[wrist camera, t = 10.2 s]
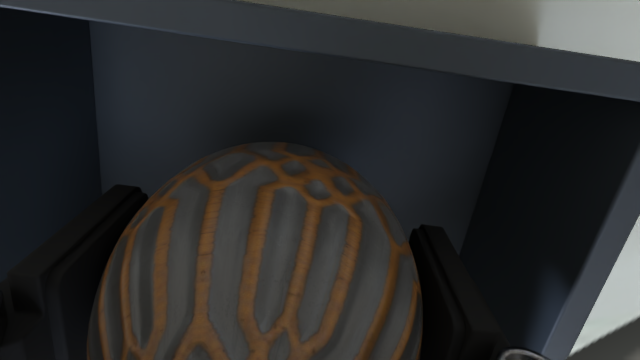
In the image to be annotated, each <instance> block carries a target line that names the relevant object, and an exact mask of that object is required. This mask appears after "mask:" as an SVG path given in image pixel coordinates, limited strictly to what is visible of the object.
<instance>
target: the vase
mask: <svg viewBox="0 0 640 360" xmlns="http://www.w3.org/2000/svg"><path fill="white" fill-rule="evenodd" d="M422 337H423V301H422V292H421V284H420V279H419V274H418V270H417V267H416V263H415V260H414V256H413V253H412V250H411V248H410V245H409V243H408V240H407V238H406V236H405V233H404V231H403V229H402V227H401V225H400V223H399V221H398V219H397V218H396V216H395V214H394V212H393V211H392V209H391V208H390V206H389V204H388V203H387V202H386V200H385V199H384V198H383V196H382V195H381V194H380V193H379V192H378V191H377V190H376V188H375V187H374V186H372V185H371V184H370V183H369V182H368V181H367V180H366V179H365V178H364V177H363V176H362V175H361V174H360V173H358V172H357V171H356V170H355V169H353V168H352V167H350V166H349V165H347V164H346V163H344V162H342V161H341V160H339V159H337V158H335V157H333V156H331V155H329V154H327V153H324V152H322V151H319V150H317V149H313V148H310V147H307V146H303V145H298V144H293V143H285V142H256V143H248V144H242V145H238V146H233V147H230V148H227V149H224V150H221V151H218V152H215V153H213V154H211V155H208V156H206V157H204V158H202V159H200V160H198V161H196V162H194V163H192V164H191V165H189V166H188V167H186V168H185V169H183V170H182V171H181V172H179V173H178V174H177V175H175V176H174V177H173V178H171V179H170V180H169V181H167V182H166V183H165V184H164V185H163V186H162V187H161V188H160V189H159V190H158V191H156V192H155V193H154V194H153V195H152V196H151V197H150V198H149V199H148V200H147V201H146V203H145V204H144V205H143V206H142V207H141V208H140V209H139V211H138V212H137V213H136V214H135V215H134V217H133V218H132V219H131V221H130V222H129V223H128V225H127V226H126V228H125V229H124V231H123V233H122V234H121V236H120V238H119V240H118V241H117V243H116V245H115V246H114V248H113V251H112V253H111V255H110V257H109V259H108V262H107V264H106V266H105V269H104V271H103V274H102V277H101V280H100V283H99V286H98V289H97V292H96V295H95V299H94V303H93V307H92V312H91V316H90V321H89V329H88V338H87V360H420V356H421V348H422Z"/></svg>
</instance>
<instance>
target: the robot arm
mask: <svg viewBox="0 0 640 360" xmlns="http://www.w3.org/2000/svg"><path fill="white" fill-rule="evenodd" d="M147 200H148V195H147V194H146V193H142V190H141V188H140V187H137V186H129V185H121V184H116V185H114V186H113V187H112V188H110V189H109V190H108V191H107V192H106V193H104V194H103V195H102V196H101V197H99V198H98V199H97V200H96V201H94V202H93V203H92V204H91V205H89V206H88V207H87V208H86V209H85V210H83V211H82V212H81V213H80V214H78V215H77V216H76V217H75V218H73V219H72V220H71V221H70V222H69V223H67V224H66V225H65V226H64V227H62V228H61V229H60V230H59V231H57V232H56V233H55V234H54V235H52V236H51V237H50V238H49V239H48V240H46V241H45V242H44V243H43V244H41V245H40V246H39V247H38V248H36V249H35V250H34V251H33V252H32V253H30V254H29V255H28V256H27V257H25V258H24V259H23V260H22V261H20V262H19V263H18V264H17V265H16V266H14V267H13V268H12V269H11V270H9V271H8V272H7V276H8V277H7V278H6V279H5V280H3V281H2V282H1V283H0V360H87V338H88V329H89V321H90V316H91V312H92V307H93V303H94V299H95V295H96V292H97V289H98V286H99V283H100V280H101V277H102V274H103V271H104V269H105V266H106V264H107V262H108V259H109V257H110V255H111V253H112V251H113V248H114V246H115V245H116V243H117V241H118V240H119V238H120V236H121V234H122V233H123V231H124V229H125V228H126V226H127V225H128V223H129V222H130V221H131V219H132V218H133V217H134V215H135V214H136V213H137V212H138V211H139V209H140V208H141V207H142V206H143V205H144V204H145V203H146V201H147ZM409 245H410V248H411V250H412V253H413V256H414V260H415V263H416V267H417V270H418V274H419V279H420V284H421V292H422V301H423V337H422V348H421V356H420V360H550V359H549V358H548V357H546V356H544V355H542V354H540V353H538V352H536V351H533V350H530V349H527V348H524V347H517V346H510V344H509V342H508V340H507V339H506V337H505V335H504V333H503V331H502V330H501V328H500V326H499V324H498V322H497V321H496V319H495V317H494V315H493V313H492V312H491V310H490V308H489V306H488V304H487V303H486V301H485V299H484V297H483V295H482V294H481V292H480V290H479V288H478V286H477V285H476V283H475V281H474V280H473V279H472V278H471V277H470V276H469V274H468V272H467V270H466V268H465V266H464V265H463V263H462V261H461V259H460V257H459V256H458V254H457V252H456V250H455V248H454V246H453V245H452V243H451V241H450V239H449V237H448V235H447V234H446V232H445V230H444V228H443V227H440V226H432V225H425V224H421V225H420V227H419V229H415V228H414V229H413V230H412V232H411V235H410V239H409Z"/></svg>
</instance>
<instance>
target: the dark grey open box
mask: <svg viewBox="0 0 640 360" xmlns="http://www.w3.org/2000/svg"><path fill="white" fill-rule="evenodd" d="M256 142H285V143H293V144H298V145H303V146H307V147H310V148H313V149H317V150H319V151H322V152H324V153H327V154H329V155H331V156H333V157H335V158H337V159H339V160H341V161H342V162H344V163H346V164H347V165H349V166H350V167H352V168H353V169H355V170H356V171H357V172H358V173H360V174H361V175H362V176H363V177H364V178H365V179H366V180H367V181H368V182H369V183H370V184H371V185H372V186H374V187H375V188H376V190H377V191H378V192H379V193H380V194H381V195H382V196H383V198H384V199H385V200H386V202H387V203H388V204H389V206H390V208H391V209H392V211H393V212H394V214H395V216H396V218H397V219H398V221H399V223H400V225H401V227H402V229H403V231H404V233H405V236H406V238H407V240H408V243H409V239H410V235H411V232H412V230H413V229H414V228H415V229H419V227H420V225H421V224H425V225H432V226H440V227H443V228H444V230H445V232H446V234H447V235H448V237H449V239H450V241H451V243H452V245H453V246H454V248H455V250H456V252H457V254H458V256H459V257H460V259H461V261H462V263H463V265H464V266H465V268H466V270H467V272H468V274H469V276H470V277H471V278H472V279H473V280H474V281H475V283H476V285H477V286H478V288H479V290H480V292H481V294H482V295H483V297H484V299H485V301H486V303H487V304H488V306H489V308H490V310H491V312H492V313H493V315H494V317H495V319H496V321H497V322H498V324H499V326H500V328H501V330H502V331H503V333H504V335H505V337H506V339H507V340H508V342H509V344H510V346H517V347H524V348H527V349H530V350H533V351H536V352H538V353H540V354H542V355H544V356H546V357H548V358H549V359H550V360H567V358H568V356H569V354H570V352H571V350H572V348H573V346H574V344H575V342H576V340H577V338H578V336H579V334H580V332H581V330H582V328H583V326H584V324H585V322H586V320H587V318H588V316H589V314H590V312H591V310H592V308H593V306H594V304H595V302H596V300H597V298H598V296H599V294H600V292H601V290H602V288H603V286H604V284H605V282H606V280H607V278H608V276H609V274H610V272H611V270H612V268H613V266H614V264H615V262H616V260H617V258H618V256H619V254H620V252H621V250H622V248H623V246H624V244H625V242H626V240H627V238H628V236H629V234H630V232H631V230H632V229H633V227H634V225H635V223H636V221H637V219H638V217H639V215H640V62H636V61H630V60H623V59H617V58H610V57H604V56H597V55H591V54H584V53H578V52H571V51H565V50H558V49H552V48H545V47H539V46H532V45H526V44H519V43H513V42H506V41H499V40H493V39H486V38H480V37H473V36H467V35H460V34H453V33H447V32H440V31H434V30H427V29H421V28H414V27H408V26H401V25H394V24H388V23H381V22H375V21H368V20H362V19H355V18H349V17H342V16H335V15H329V14H322V13H316V12H309V11H303V10H296V9H290V8H283V7H276V6H270V5H263V4H257V3H250V2H244V1H237V0H0V283H1V282H2V281H3V280H5V279H6V278H7V277H8V276H7V272H8V271H9V270H11V269H12V268H13V267H14V266H16V265H17V264H18V263H19V262H20V261H22V260H23V259H24V258H25V257H27V256H28V255H29V254H30V253H32V252H33V251H34V250H35V249H36V248H38V247H39V246H40V245H41V244H43V243H44V242H45V241H46V240H48V239H49V238H50V237H51V236H52V235H54V234H55V233H56V232H57V231H59V230H60V229H61V228H62V227H64V226H65V225H66V224H67V223H69V222H70V221H71V220H72V219H73V218H75V217H76V216H77V215H78V214H80V213H81V212H82V211H83V210H85V209H86V208H87V207H88V206H89V205H91V204H92V203H93V202H94V201H96V200H97V199H98V198H99V197H101V196H102V195H103V194H104V193H106V192H107V191H108V190H109V189H110V188H112V187H113V186H114V185H116V184H121V185H129V186H137V187H140V188H141V190H142V193H146V194H147V195H148V199H149V198H150V197H151V196H152V195H153V194H154V193H155V192H156V191H158V190H159V189H160V188H161V187H162V186H163V185H164V184H165V183H166V182H167V181H169V180H170V179H171V178H173V177H174V176H175V175H177V174H178V173H179V172H181V171H182V170H183V169H185V168H186V167H188V166H189V165H191V164H192V163H194V162H196V161H198V160H200V159H202V158H204V157H206V156H208V155H211V154H213V153H215V152H218V151H221V150H224V149H227V148H230V147H233V146H238V145H242V144H248V143H256Z"/></svg>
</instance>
